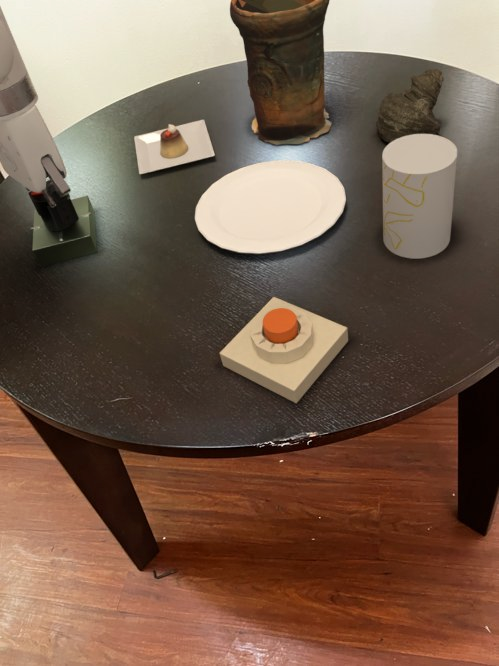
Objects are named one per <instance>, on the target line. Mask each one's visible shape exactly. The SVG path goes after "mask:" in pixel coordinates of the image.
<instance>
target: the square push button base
mask: <svg viewBox="0 0 499 666" xmlns="http://www.w3.org/2000/svg"><path fill="white" fill-rule="evenodd" d="M278 308H286V309H289V310H291V311H293V312H294V313H295V315H296V317H297V323H298V334H297V336H296V337H295V338H294V339H293V340H291V341H289V342H287V343H283V344H277V343H273V342H271V341H269V340H268V339H267V338H266V336H265V332H264V328H263V318H264V316H265V315H266V314H267V313H268V312H270V311H271V310H274V309H278ZM348 331H349V330H348V327H347V326H345V325H342V324H340V323H337V322H335V321H332V320H330V319H329V318H326V317H324V316H320V315H319V314H316V313H314V312H311V311H309V310H306V309H305V308H302V307H299V306H297V305H295V304H292V303H289V302H288V301H285V300H283V299H280V298H278V297H275V296H273V297H272V298H271V299H270V300H269V301H268V302H267V303H266V304H265V305H264V306H263V307H262V308H261V309H260V310H259V311H258V313H256V314H255V315H254V316H253V318H251V320H250V321H249V322H248V323H247V324H246V325H245V326H243V328H242V329H241V330H240V331H239V332H238V333H237V334H236V335H235V336H234V337H233V338H232V339H231V340H230V341H229V342H228V343H227V345H226V346H225V347H224V348H223V349H222V350H220V351H219V356H220V360H221V363H222V366H223V367H224V368H227V369H228V370H230V371H232V372H233V373H236V374H238V375H240V376H242V377H244V378H245V379H247V380H250V381H252V382H253V383H255V384H258V385H260V386H262V388H263V387H264V388H265V389H267V390H269V391H271V392H273V393H275V394H277V395H279V396H281V397H283V398H285V399H286V400H289V401H291V402H293V403H294V404H298V402H299V401H300V400H301V399H302V398H303V396H304V395H305V394H306V393H307V392H308V390H310V388H311V387H312V386H313V384H314V383H315V382H316V380H318V378H319V377H320V376H321V375H322V374H323V372H324V371H325V370H326V369H327V368H328V367H329V365H330V364H331V362H333V360H334V359H335V358H336V357H337V356H338V354H339V353H340V352H341V351H342V349H343V348H344V347H345V346H346V345H347V343H348V342H349V332H348Z"/></svg>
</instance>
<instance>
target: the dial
mask: <svg viewBox="0 0 499 666" xmlns="http://www.w3.org/2000/svg"><path fill="white" fill-rule="evenodd" d="M48 190H49V192H50V194H51V196H52V192H54V191H55V186H52V187H50V188H48ZM31 195H32V199H33V201H34V203H35V206H36V208H37V210H38V212H39V214H40V216H41V218H42V220H43V222H44V224H45V226H46V228H47V229H48V230H50V231H60V230H59V229H58V228H57V226H56V224H55V222H54V220H53V218H52V216H51V214H50V211H49V209H48V207H47V206H48V205H49V203H48V201H47V200H46V198H45V196H44V194H43V192H40V193H36V192H33V191H32V192H31ZM35 206H34V207H35ZM36 208H35V209H36ZM70 226H71V225H70ZM70 226H69V227H70ZM67 228H68V227H67ZM65 229H66V228H65Z"/></svg>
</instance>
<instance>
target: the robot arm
mask: <svg viewBox="0 0 499 666" xmlns="http://www.w3.org/2000/svg"><path fill="white" fill-rule="evenodd" d="M26 67H27V66H26V64H25V62H24V60H23V57H22V55H21V53H20V49H19V48H18V45H17V43H16V41H15V39H14V36H13V33H12V31H11V28H10V26H9V24H8V20H7V19H6V17H5V14H4V12H3V9H2V7H1V6H0V164H1V167H2V168H3V170H4V172H5V173H6V174H7V175H8V176H9V177H10V178H12V179H13V180H15V181H16V182H18V183H19V184H21V186H23V187H24V188H25V190H26V191H27V193H28V196H29V198H30V200H31V203H32V204H33V207H34V209H36V210H37V208H36V206H35V203H34V201H33V199H32V195H31V192H32V191H33V192H36V193H40V192H43V194H44V196H45V198H46V200H47V201H48V203H49V205H48V206H47V207H48V209H49V211H50V214H51V216H52V218H53V220H54V222H55V224H56V226H57V228H58V229H59V230H61V231H62V230H64V229H65V228H67V227H69V226H70V225H72V224H73V223H75V222H77V221H78V220H79V217H78V215H77V213H76V210H75V208H74V206H73V203H72V201H71V200H72V199H71V194H70V193H71V192H72V190H71V187H70V185H69V184H68V183H67V182H66V178H67V175H68V174H67V173H68V172H67V168H66V165H65V163H64V160H63V158H62V156H61V154H60V151H59V149H58V146H57V144H56V142H55V139H54V137H53V136H52V134H51V131H50V129H49V128H48V125H47V124H46V122H45V119H44V117H43V116H42V113H41V112H40V110H39V109H38V106H37V105H36V104H37V103H38V100H39V96H38V93H37V91H36V88H35V86H34V84H33V81H32V79H31V77H30V74H29V71H28V69H27V68H26ZM47 178H48V180H47ZM52 186H55V191H54V192H52V196H51V194H50V192H49V190H48V188H50V187H52ZM37 213H38V214H39V212H38V210H37ZM39 215H40V214H39Z"/></svg>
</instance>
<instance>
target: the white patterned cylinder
mask: <svg viewBox="0 0 499 666" xmlns="http://www.w3.org/2000/svg"><path fill="white" fill-rule="evenodd" d="M381 155H382V157H381V158H382V159H381V160H382V162H381V163H382V164H381V165H382V166H381V167H382V169H381V170H382V242H383V245H384V246H385V247H386V248H387V250H388V251H390V253H392V254H394V255H396V256H399V257H401V258H407V259H417V260H418V259H426V258H431V257H433V256H436V255H438V254H440V253H441V252H443V251H444V250H445V249H446V248H447V247H448V246H449V244H450V243H451V233H452V223H453V222H452V221H453V209H454V198H455V186H456V185H455V184H456V175H457V174H456V173H457V162H458V148H457V146H456V145H455V143H453V141H451V140H450V139H448V138H446V137H443V136H440V135H437V134H434V135H432V134H413V135H407V136H404V137H401V138H398V139H396V140H394V141H392V142H391V143H388V144H387V145H386V146H385V147H384V149H383V151H382V154H381Z"/></svg>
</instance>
